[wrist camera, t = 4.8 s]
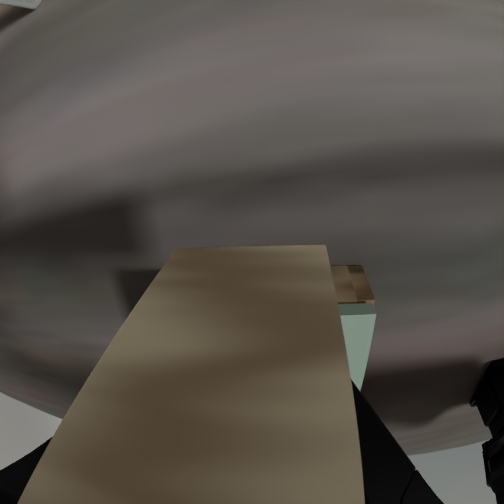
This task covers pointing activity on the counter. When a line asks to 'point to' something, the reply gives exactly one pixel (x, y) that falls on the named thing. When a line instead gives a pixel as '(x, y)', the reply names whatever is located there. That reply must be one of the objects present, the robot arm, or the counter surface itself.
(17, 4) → the small box
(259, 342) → the brown wooden block
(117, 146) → the counter surface
